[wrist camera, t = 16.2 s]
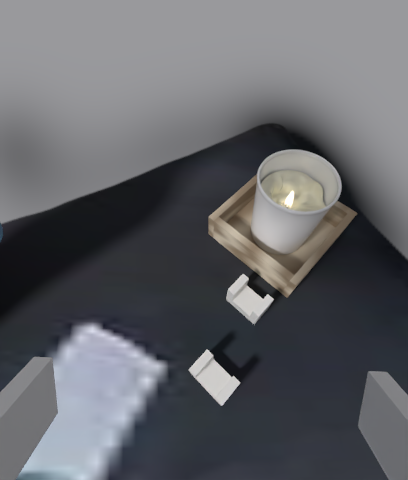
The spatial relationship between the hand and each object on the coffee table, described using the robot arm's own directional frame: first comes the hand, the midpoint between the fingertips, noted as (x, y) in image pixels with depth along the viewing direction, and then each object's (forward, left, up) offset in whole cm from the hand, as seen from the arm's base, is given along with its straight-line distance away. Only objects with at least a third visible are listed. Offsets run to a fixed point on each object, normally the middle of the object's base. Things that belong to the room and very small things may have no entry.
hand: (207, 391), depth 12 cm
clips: (-2, +7, -25) cm, 26 cm away
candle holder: (-8, +24, -25) cm, 35 cm away
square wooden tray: (-8, +24, -25) cm, 36 cm away
